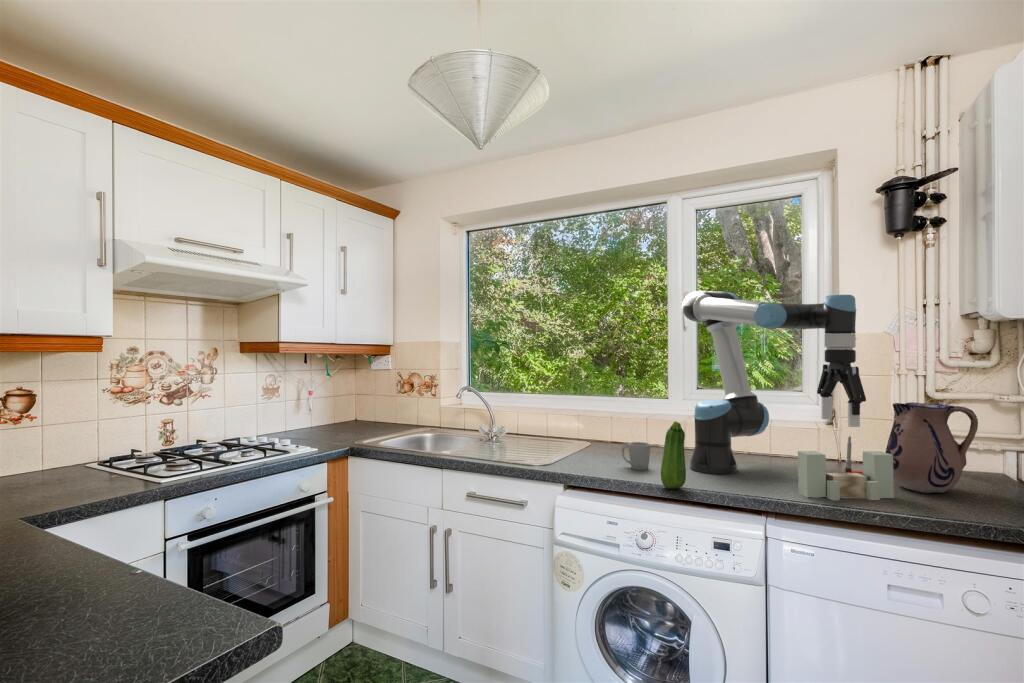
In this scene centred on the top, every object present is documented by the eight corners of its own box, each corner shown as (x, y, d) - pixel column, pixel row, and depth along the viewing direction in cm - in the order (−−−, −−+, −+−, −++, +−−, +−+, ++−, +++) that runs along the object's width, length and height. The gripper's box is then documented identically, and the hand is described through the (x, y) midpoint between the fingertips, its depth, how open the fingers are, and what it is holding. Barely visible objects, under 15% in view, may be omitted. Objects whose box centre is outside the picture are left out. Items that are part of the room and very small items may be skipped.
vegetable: (655, 486, 154) (655, 420, 154) (676, 484, 156) (675, 419, 156) (669, 492, 147) (668, 423, 147) (691, 490, 149) (690, 422, 149)
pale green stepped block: (811, 500, 139) (810, 456, 139) (794, 490, 148) (794, 449, 148) (839, 500, 139) (839, 456, 139) (821, 491, 148) (820, 449, 148)
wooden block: (829, 497, 141) (829, 476, 141) (821, 493, 145) (821, 472, 145) (870, 498, 140) (870, 476, 141) (861, 494, 144) (861, 473, 145)
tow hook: (876, 476, 166) (842, 472, 170) (878, 437, 166) (844, 434, 169) (882, 483, 158) (847, 478, 162) (884, 441, 158) (849, 438, 162)
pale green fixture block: (876, 491, 147) (876, 450, 147) (898, 501, 138) (898, 456, 138) (850, 491, 147) (849, 449, 147) (870, 500, 138) (869, 456, 138)
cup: (647, 472, 172) (647, 446, 172) (619, 468, 177) (618, 444, 177) (653, 467, 178) (653, 443, 179) (625, 464, 184) (625, 440, 184)
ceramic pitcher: (878, 479, 160) (876, 400, 161) (962, 486, 152) (960, 402, 153) (895, 494, 144) (893, 405, 145) (991, 502, 136) (989, 408, 137)
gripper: (881, 349, 133) (881, 430, 133) (829, 348, 158) (829, 416, 158) (851, 349, 134) (851, 430, 134) (804, 348, 159) (804, 416, 159)
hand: (839, 422), depth 146 cm, fingers open, 13 cm apart
